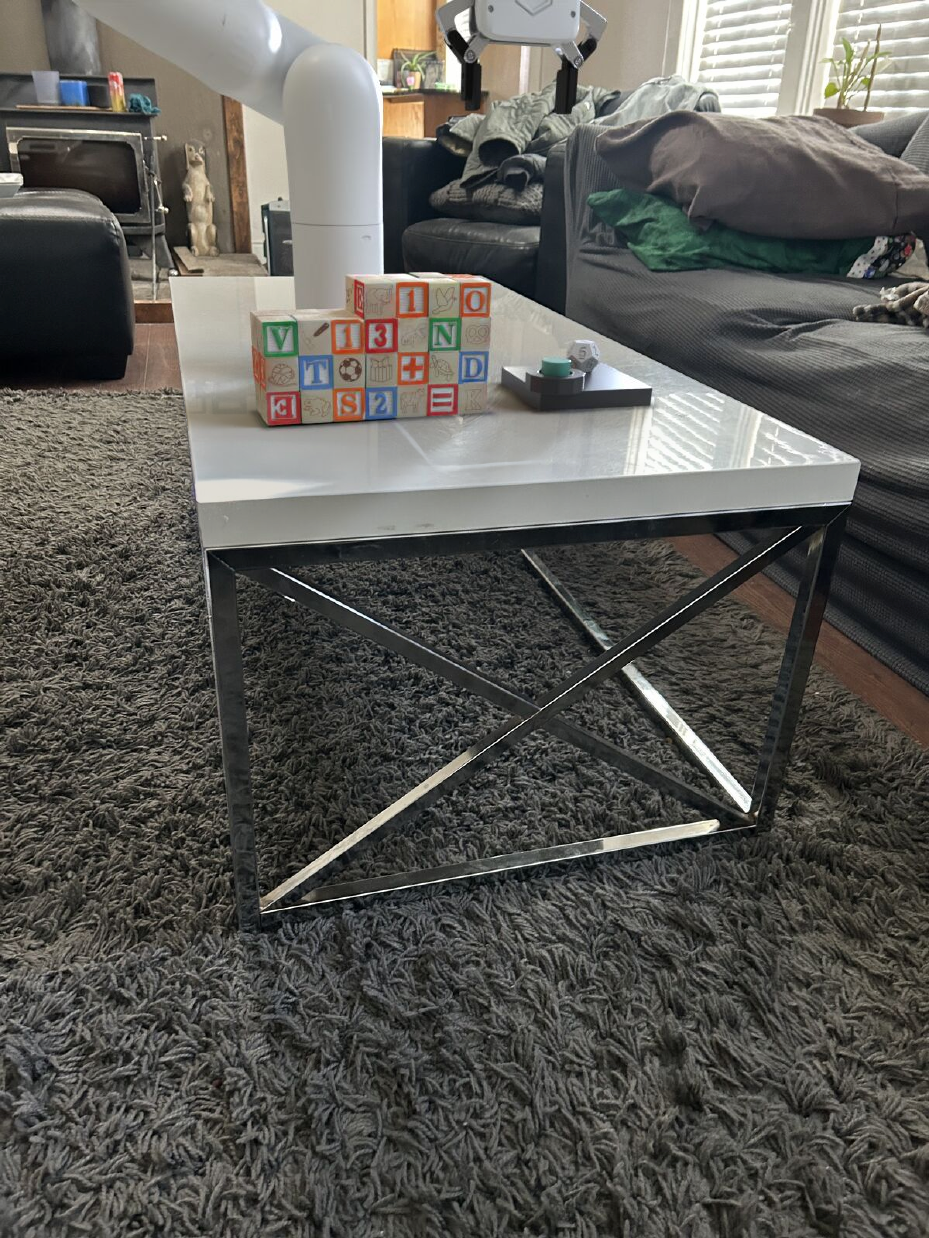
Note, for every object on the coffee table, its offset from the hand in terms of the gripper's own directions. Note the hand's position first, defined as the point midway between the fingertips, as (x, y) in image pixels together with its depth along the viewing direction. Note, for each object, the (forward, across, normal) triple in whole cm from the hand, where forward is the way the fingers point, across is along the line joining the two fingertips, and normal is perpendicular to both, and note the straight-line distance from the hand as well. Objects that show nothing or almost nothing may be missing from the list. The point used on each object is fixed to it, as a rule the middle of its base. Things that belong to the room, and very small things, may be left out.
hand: (518, 112), depth 96 cm
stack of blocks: (+26, -18, -13) cm, 35 cm away
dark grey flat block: (+26, +4, -10) cm, 28 cm away
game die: (+25, +6, -7) cm, 26 cm away
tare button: (+23, 0, -14) cm, 27 cm away
